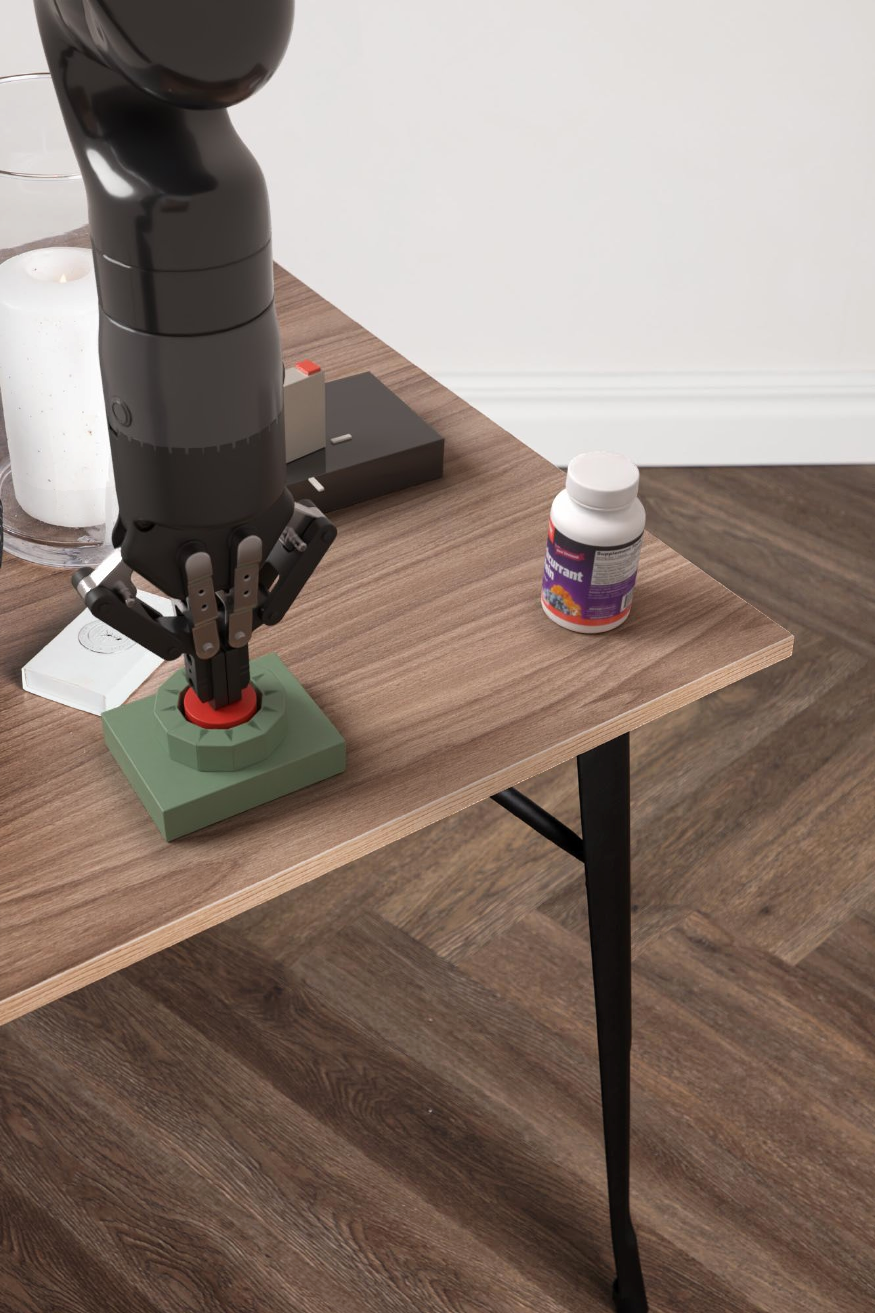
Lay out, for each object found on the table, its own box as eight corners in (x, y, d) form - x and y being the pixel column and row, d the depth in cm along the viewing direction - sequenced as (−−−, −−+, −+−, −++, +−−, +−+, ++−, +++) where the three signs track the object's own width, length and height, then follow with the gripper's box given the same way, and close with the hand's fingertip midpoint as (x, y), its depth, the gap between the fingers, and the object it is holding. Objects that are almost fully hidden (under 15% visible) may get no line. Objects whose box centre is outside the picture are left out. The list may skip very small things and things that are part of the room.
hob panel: (256, 551, 87) (254, 509, 85) (179, 460, 95) (175, 419, 93) (456, 488, 94) (458, 447, 92) (369, 408, 101) (369, 368, 99)
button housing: (166, 843, 69) (159, 785, 66) (104, 743, 74) (95, 686, 72) (346, 771, 73) (346, 714, 71) (276, 681, 78) (273, 625, 76)
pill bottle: (524, 591, 85) (538, 454, 79) (601, 571, 87) (621, 435, 81) (567, 645, 82) (585, 506, 75) (647, 623, 84) (671, 485, 77)
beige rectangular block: (263, 473, 89) (259, 392, 85) (248, 462, 89) (243, 382, 86) (325, 446, 91) (324, 367, 87) (310, 436, 92) (308, 357, 88)
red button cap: (204, 758, 70) (202, 732, 69) (175, 715, 73) (172, 689, 71) (269, 733, 72) (268, 708, 71) (238, 692, 74) (237, 666, 73)
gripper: (293, 322, 65) (301, 614, 76) (12, 391, 59) (66, 696, 71) (374, 396, 60) (370, 696, 72) (78, 479, 55) (124, 790, 66)
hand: (219, 696), depth 71 cm, fingers closed
